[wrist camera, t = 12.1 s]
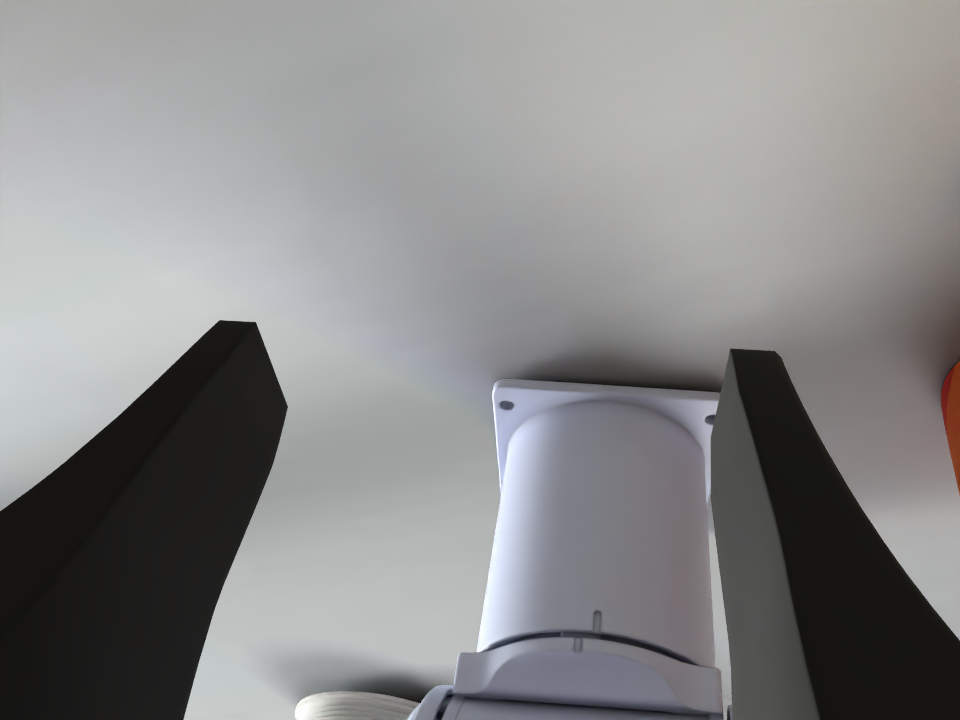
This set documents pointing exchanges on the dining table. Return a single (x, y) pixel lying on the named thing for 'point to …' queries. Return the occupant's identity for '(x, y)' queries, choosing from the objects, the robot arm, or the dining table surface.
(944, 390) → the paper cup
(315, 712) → the lid
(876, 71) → the dining table surface
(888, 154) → the dining table surface
